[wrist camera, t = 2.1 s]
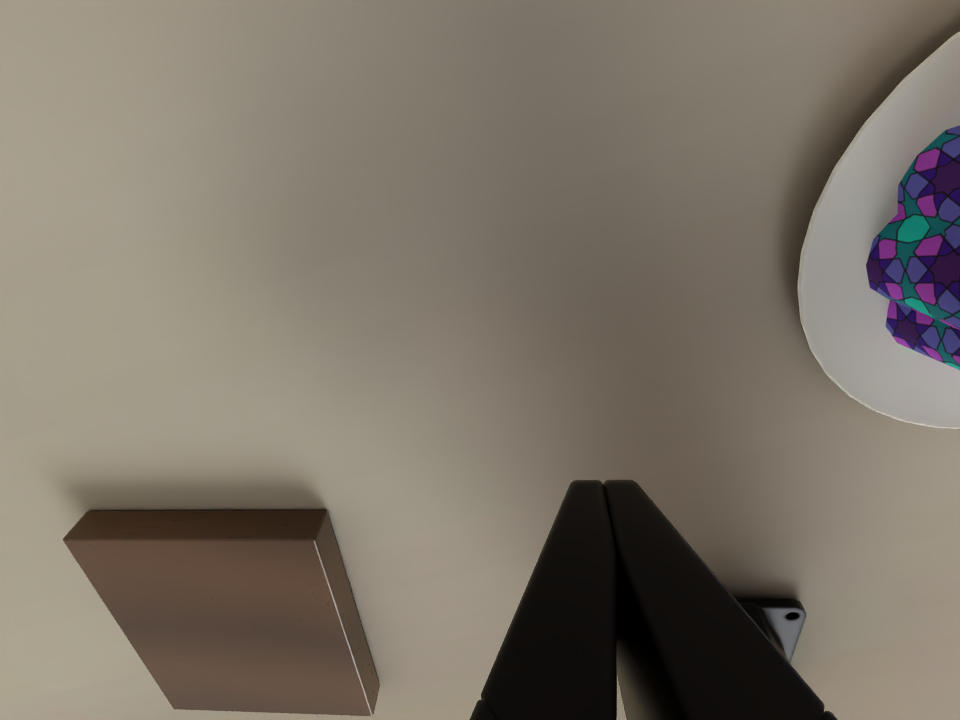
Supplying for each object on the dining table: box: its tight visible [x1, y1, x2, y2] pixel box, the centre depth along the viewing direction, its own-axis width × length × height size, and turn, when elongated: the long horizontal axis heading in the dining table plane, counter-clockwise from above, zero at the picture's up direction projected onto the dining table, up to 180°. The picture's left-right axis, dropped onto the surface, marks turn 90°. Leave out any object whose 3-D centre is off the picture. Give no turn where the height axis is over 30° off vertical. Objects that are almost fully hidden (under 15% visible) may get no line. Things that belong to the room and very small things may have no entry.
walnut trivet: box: [63, 510, 380, 716], centre depth 25 cm, size 12×10×2 cm
